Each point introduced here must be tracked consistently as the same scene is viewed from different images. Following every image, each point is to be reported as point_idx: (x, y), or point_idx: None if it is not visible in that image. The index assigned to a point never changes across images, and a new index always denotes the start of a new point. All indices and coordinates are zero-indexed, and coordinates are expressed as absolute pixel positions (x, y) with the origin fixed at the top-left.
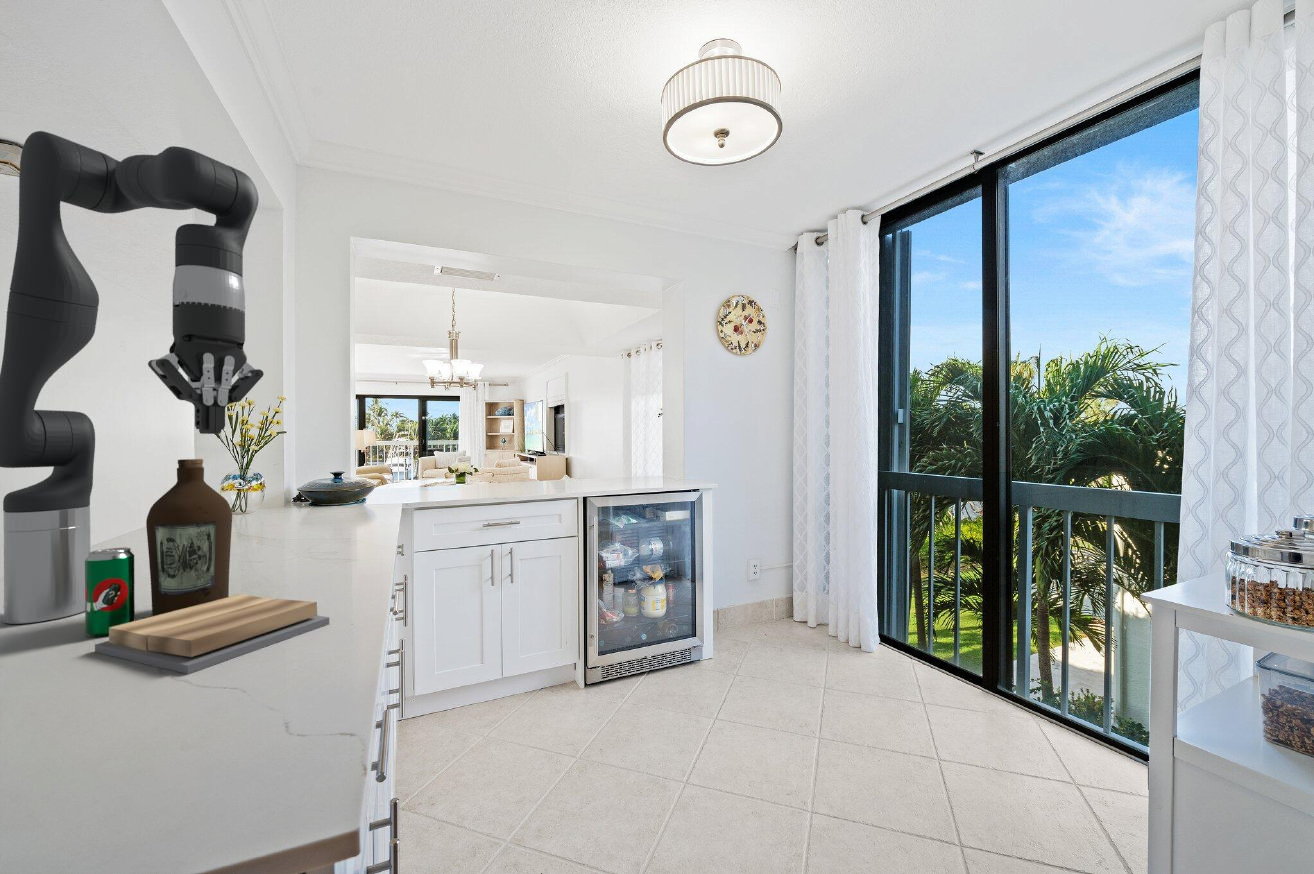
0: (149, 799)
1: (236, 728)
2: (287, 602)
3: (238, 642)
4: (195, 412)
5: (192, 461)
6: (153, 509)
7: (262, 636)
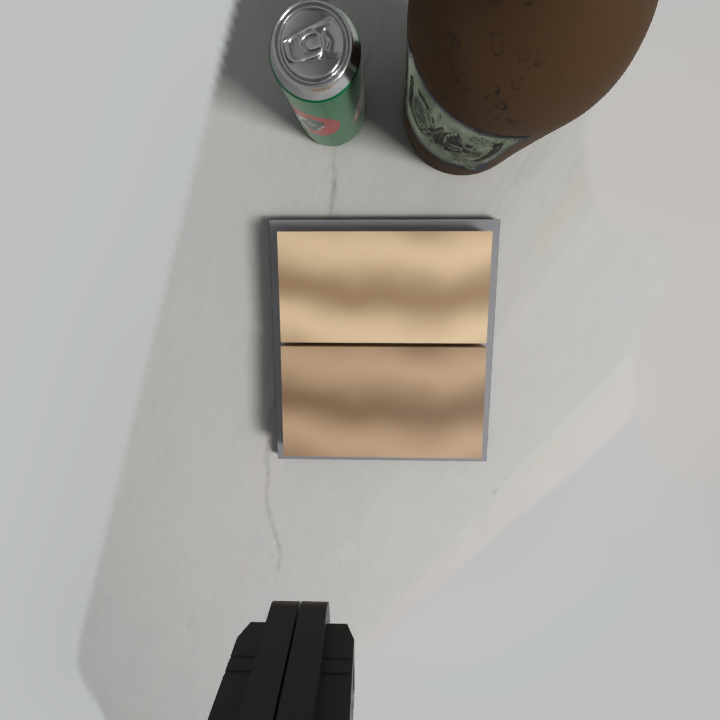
0: (142, 671)
1: (227, 633)
2: (469, 401)
3: None
4: (213, 709)
5: None
6: None
7: None
